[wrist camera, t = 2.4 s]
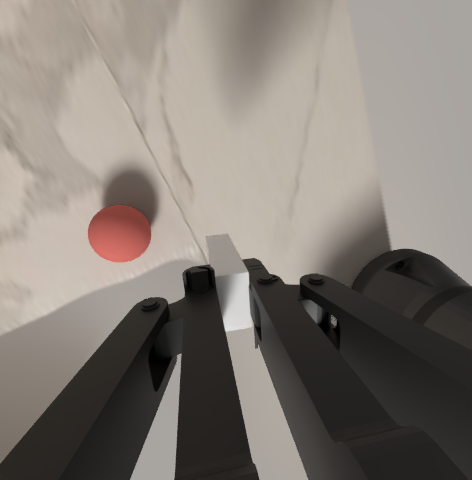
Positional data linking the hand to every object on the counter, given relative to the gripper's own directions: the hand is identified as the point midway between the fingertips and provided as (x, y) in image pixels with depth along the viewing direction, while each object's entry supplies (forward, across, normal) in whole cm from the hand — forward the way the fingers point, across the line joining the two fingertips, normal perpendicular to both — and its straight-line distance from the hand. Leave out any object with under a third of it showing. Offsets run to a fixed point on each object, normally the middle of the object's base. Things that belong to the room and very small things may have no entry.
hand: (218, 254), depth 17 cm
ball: (+11, +9, 0) cm, 15 cm away
